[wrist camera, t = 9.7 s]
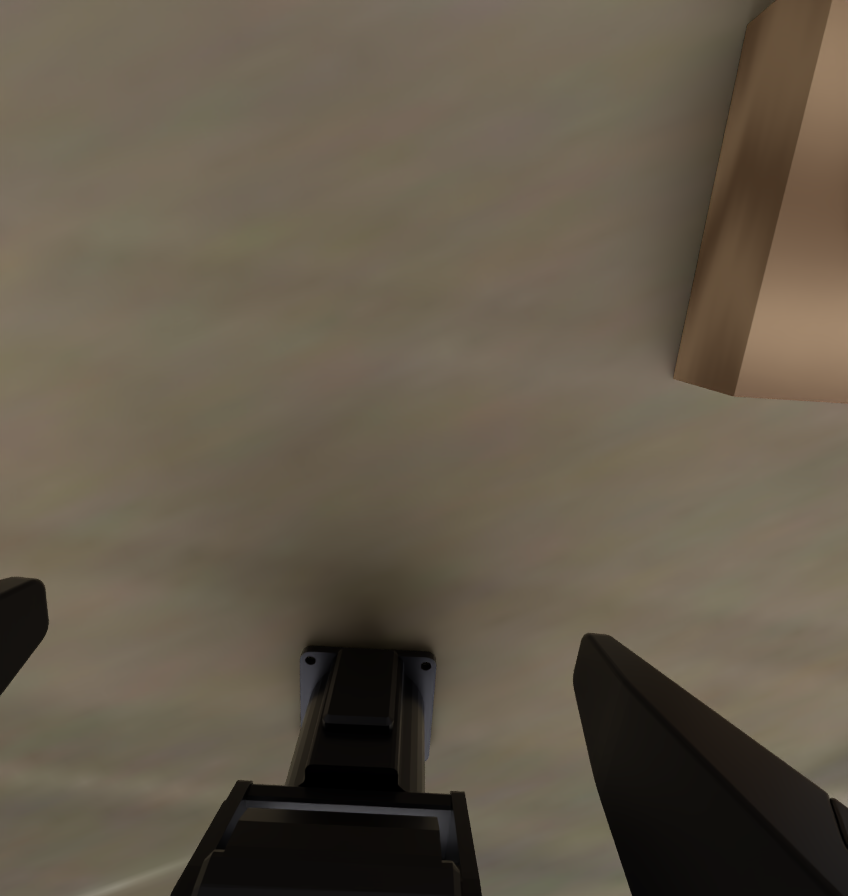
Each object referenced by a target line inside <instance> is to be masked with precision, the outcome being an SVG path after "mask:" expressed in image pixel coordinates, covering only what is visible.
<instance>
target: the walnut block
mask: <svg viewBox="0 0 848 896" xmlns="http://www.w3.org/2000/svg"><path fill="white" fill-rule="evenodd" d="M673 379H676V380H679V381H683V382H686V383H689V384H693V385H696V386H700V387H703V388H707V389H710V390H713V391H717V392H720V393H724V394H727V395H731V396H735V397H751V398H767V399H783V400H800V401H816V402H832V403H848V0H776V1H774V2H773V3H772V4H771V5H770V6H769V7H768V8H766V9H765V10H764V11H763V12H762V13H761V14H759V15H758V16H757V17H756V18H755V19H754V20H752V21H751V22H750V23H749V24H748V25H747V29H746V33H745V38H744V43H743V48H742V52H741V57H740V62H739V67H738V71H737V76H736V81H735V86H734V91H733V95H732V100H731V105H730V110H729V114H728V119H727V124H726V129H725V133H724V138H723V143H722V148H721V153H720V157H719V162H718V167H717V172H716V176H715V181H714V186H713V191H712V195H711V200H710V205H709V210H708V215H707V219H706V224H705V229H704V234H703V238H702V243H701V248H700V253H699V257H698V262H697V267H696V272H695V277H694V281H693V286H692V291H691V296H690V300H689V305H688V310H687V315H686V319H685V324H684V329H683V334H682V339H681V343H680V348H679V353H678V358H677V362H676V367H675V372H674V377H673Z"/></svg>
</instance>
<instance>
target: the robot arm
mask: <svg viewBox="0 0 848 896" xmlns="http://www.w3.org/2000/svg"><path fill="white" fill-rule="evenodd" d="M48 625H49V619H48V609H47V600H46V591H45V585H44V584H43V582H42V581H40V580H39V579H34V578H24V577H9V578H6V579H2V580H0V695H1V694H2V693H3V691H4V690H5V689H6V687H7V686H8V685H9V684H10V682H11V681H12V680H13V678H14V677H15V676H16V674H17V673H18V672H19V670H20V669H21V668H22V666H23V665H24V664H25V662H26V661H27V660H28V658H29V657H30V656H31V654H32V653H33V652H34V650H35V649H36V648H37V647H38V645H39V644H40V643H41V641H42V640H43V638H44V637H45V635H46V632H47V629H48ZM308 656H312V657H314V658H315V659H310V658H309V657H308ZM423 662H429V664H427V665H425V664H422V663H423ZM435 677H436V657H435V656H434V655H433V654H432V653H430V652H423V651H402V650H382V649H362V648H342V647H322V646H308V647H306V648H305V649H304V650H303V652H302V654H301V658H300V700H301V730H300V734H299V737H298V741H297V744H296V748H295V751H294V755H293V758H292V762H291V765H290V769H289V772H288V776H287V779H286V783H285V786H284V785H264V784H253V782H252V781H244V780H238V781H237V782H236V784H235V786H234V787H233V789H232V791H231V792H230V794H229V796H228V798H227V799H226V800H225V801H224V802H223V804H222V805H221V807H220V809H219V811H218V812H217V814H216V816H215V818H214V819H213V821H212V823H211V824H210V826H209V828H208V830H207V831H206V833H205V835H204V837H203V838H202V840H201V842H200V844H199V845H198V847H197V849H196V851H195V852H194V854H193V856H192V858H191V859H190V861H189V863H188V865H187V866H186V868H185V870H184V872H183V873H182V875H181V877H180V879H179V880H178V882H177V884H176V885H175V887H174V889H173V891H172V893H171V895H170V896H482V893H481V886H480V879H479V873H478V867H477V862H476V856H475V850H474V844H473V838H472V833H471V827H470V821H469V815H468V810H467V804H466V798H465V793H464V792H458V791H450V794H440V793H425V761H426V760H427V759H428V757H429V749H430V737H431V725H432V713H433V701H434V689H435ZM573 686H574V692H575V696H576V701H577V705H578V710H579V714H580V719H581V723H582V727H583V732H584V736H585V741H586V745H587V750H588V754H589V759H590V763H591V768H592V772H593V776H594V780H595V783H596V787H597V790H598V793H599V796H600V800H601V803H602V806H603V809H604V812H605V815H606V818H607V821H608V824H609V827H610V830H611V833H612V836H613V839H614V842H615V845H616V848H617V851H618V854H619V857H620V860H621V863H622V866H623V869H624V873H625V876H626V879H627V882H628V885H629V888H630V891H631V894H632V896H848V808H847V807H846V806H845V805H843V804H842V803H841V802H839V801H838V800H836V799H835V798H830V799H829V796H828V794H827V793H826V792H825V791H824V790H822V789H821V788H820V787H818V786H817V785H816V784H814V783H813V782H811V781H810V780H809V779H807V778H806V777H804V776H803V775H802V774H800V773H799V772H798V771H796V770H795V769H793V768H792V767H791V766H789V765H788V764H787V763H785V762H784V761H782V760H781V759H780V758H778V757H777V756H775V755H774V754H773V753H771V752H770V751H769V750H767V749H766V748H764V747H763V746H762V745H760V744H759V743H758V742H756V741H755V740H753V739H752V738H751V737H749V736H748V735H747V734H745V733H744V732H742V731H741V730H740V729H738V728H737V727H735V726H734V725H733V724H731V723H730V722H729V721H727V720H726V719H724V718H723V717H722V716H720V715H719V714H718V713H716V712H715V711H713V710H712V709H711V708H709V707H708V706H707V705H705V704H704V703H702V702H701V701H700V700H698V699H697V698H695V697H694V696H693V695H691V694H690V693H689V692H687V691H686V690H684V689H683V688H682V687H680V686H679V685H678V684H676V683H675V682H673V681H672V680H671V679H669V678H668V677H667V676H665V675H664V674H662V673H661V672H660V671H658V670H657V669H655V668H654V667H653V666H651V665H650V664H649V663H647V662H646V661H644V660H643V659H642V658H640V657H639V656H638V655H636V654H635V653H633V652H632V651H631V650H629V649H628V648H627V647H625V646H624V645H622V644H621V643H620V642H618V641H617V640H615V639H614V638H613V637H611V636H609V635H606V634H595V633H587V634H585V635H584V636H583V638H582V640H581V643H580V648H579V652H578V656H577V660H576V665H575V669H574V673H573Z"/></svg>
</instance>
